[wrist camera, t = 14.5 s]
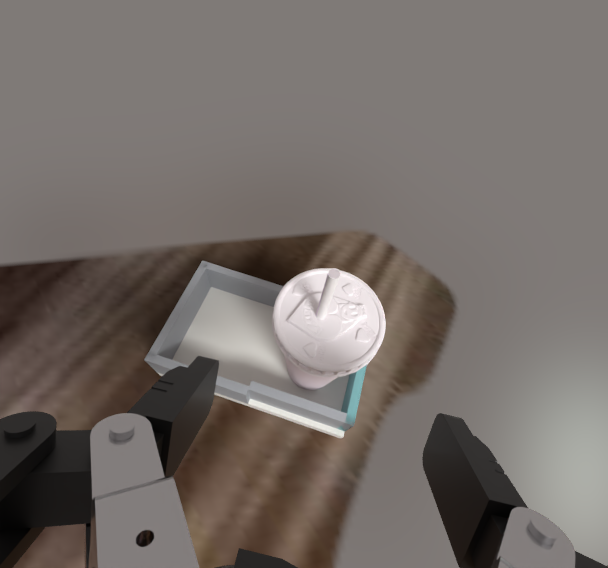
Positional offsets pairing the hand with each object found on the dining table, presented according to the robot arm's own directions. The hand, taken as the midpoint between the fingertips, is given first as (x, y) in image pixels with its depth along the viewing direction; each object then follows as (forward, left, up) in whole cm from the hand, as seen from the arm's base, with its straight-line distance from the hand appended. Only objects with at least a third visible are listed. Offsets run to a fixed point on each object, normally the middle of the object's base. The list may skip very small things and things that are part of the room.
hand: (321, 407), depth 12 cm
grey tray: (-4, +6, -15) cm, 16 cm away
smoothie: (0, +6, -14) cm, 15 cm away
